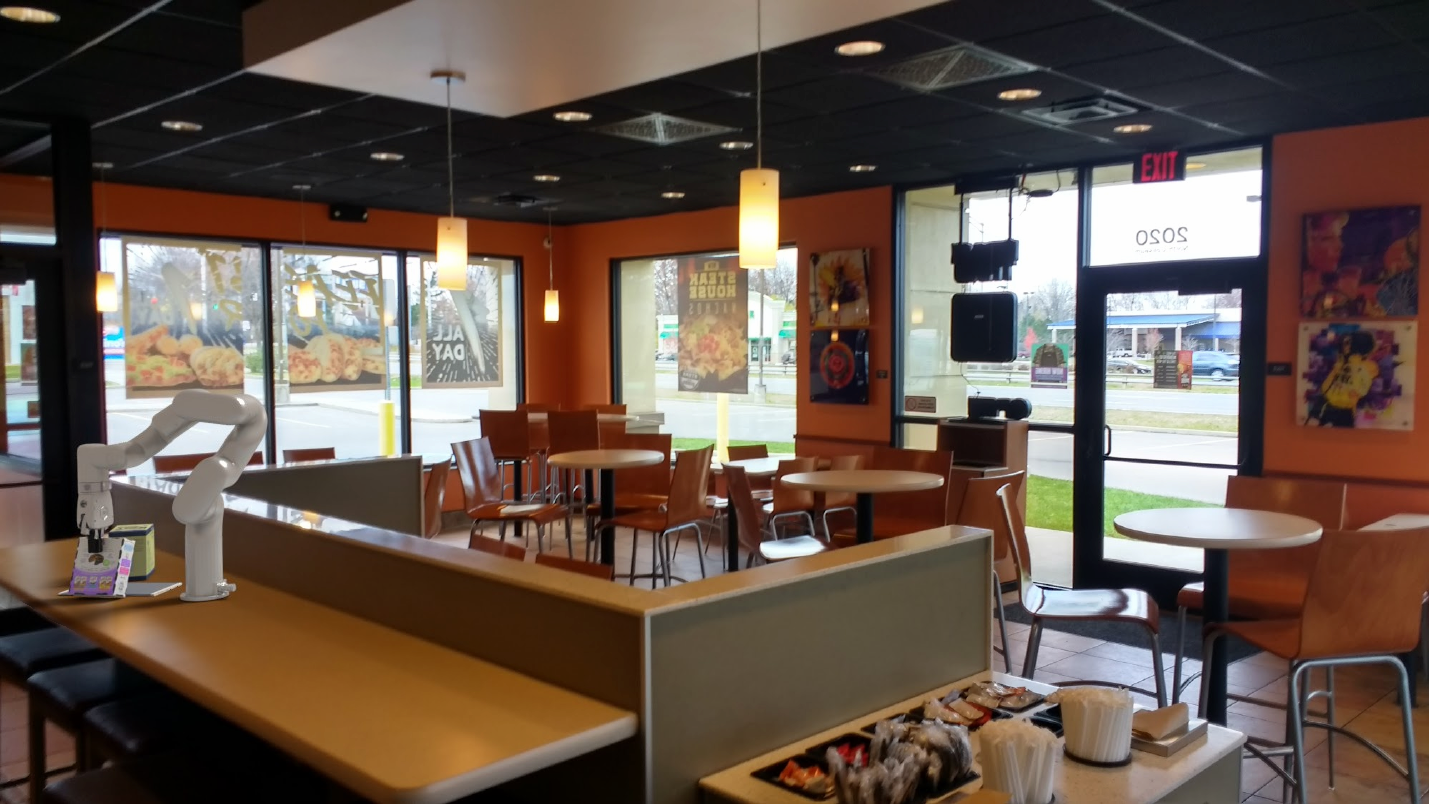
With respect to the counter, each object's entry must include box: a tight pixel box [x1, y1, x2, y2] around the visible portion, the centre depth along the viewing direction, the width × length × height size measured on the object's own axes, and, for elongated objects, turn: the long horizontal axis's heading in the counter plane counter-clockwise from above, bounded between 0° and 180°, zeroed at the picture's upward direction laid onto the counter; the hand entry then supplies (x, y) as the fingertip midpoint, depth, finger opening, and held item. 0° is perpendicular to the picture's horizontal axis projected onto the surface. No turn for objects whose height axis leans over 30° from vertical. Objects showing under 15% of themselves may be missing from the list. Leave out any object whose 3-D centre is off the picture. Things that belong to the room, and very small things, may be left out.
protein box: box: [107, 523, 156, 582], centre depth 324 cm, size 10×16×16 cm
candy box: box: [68, 536, 135, 598], centre depth 296 cm, size 14×6×16 cm, turn 84°
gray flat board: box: [57, 582, 183, 597], centre depth 305 cm, size 28×15×1 cm, turn 89°
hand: (95, 552), depth 293 cm, fingers closed
